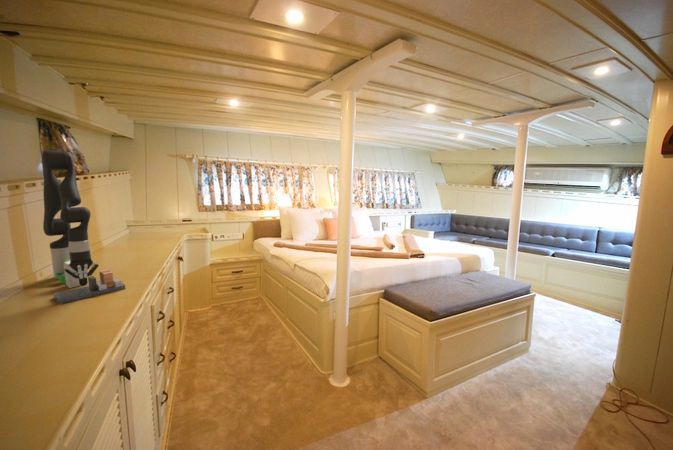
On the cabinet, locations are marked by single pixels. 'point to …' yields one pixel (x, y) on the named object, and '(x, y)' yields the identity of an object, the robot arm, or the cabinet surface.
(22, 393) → the cabinet surface
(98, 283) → the sliding jaw
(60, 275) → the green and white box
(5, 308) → the cabinet surface
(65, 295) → the vise
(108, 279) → the block
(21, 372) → the cabinet surface
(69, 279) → the supplement box
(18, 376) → the cabinet surface
